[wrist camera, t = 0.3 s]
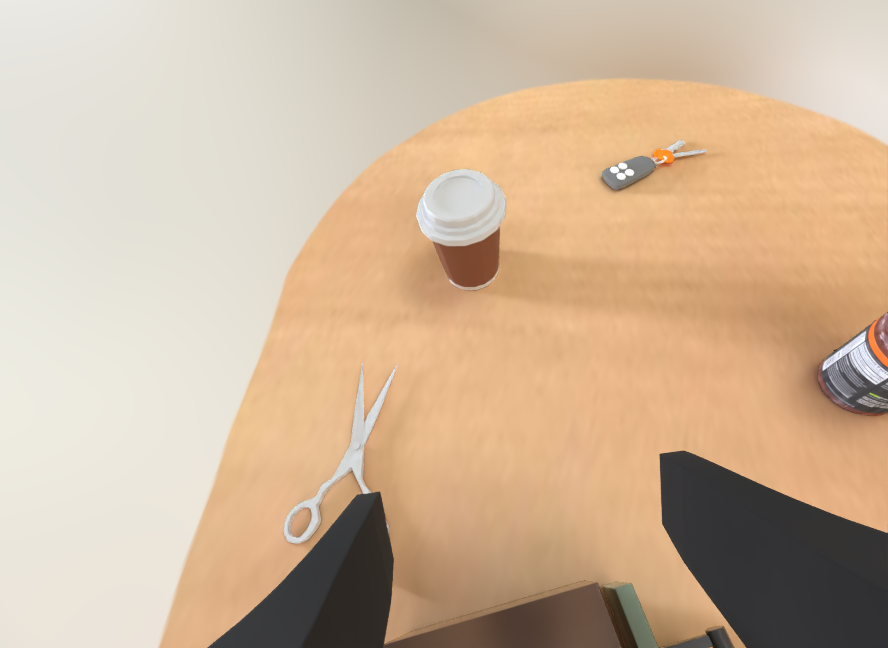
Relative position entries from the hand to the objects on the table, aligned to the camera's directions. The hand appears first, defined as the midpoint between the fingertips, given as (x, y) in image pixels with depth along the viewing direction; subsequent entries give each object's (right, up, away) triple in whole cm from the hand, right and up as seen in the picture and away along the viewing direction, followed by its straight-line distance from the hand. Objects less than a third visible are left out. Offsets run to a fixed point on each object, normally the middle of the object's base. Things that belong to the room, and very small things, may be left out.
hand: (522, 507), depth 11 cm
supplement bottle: (+34, -1, +27) cm, 44 cm away
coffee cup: (+2, +11, +41) cm, 42 cm away
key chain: (+25, +25, +44) cm, 56 cm away
